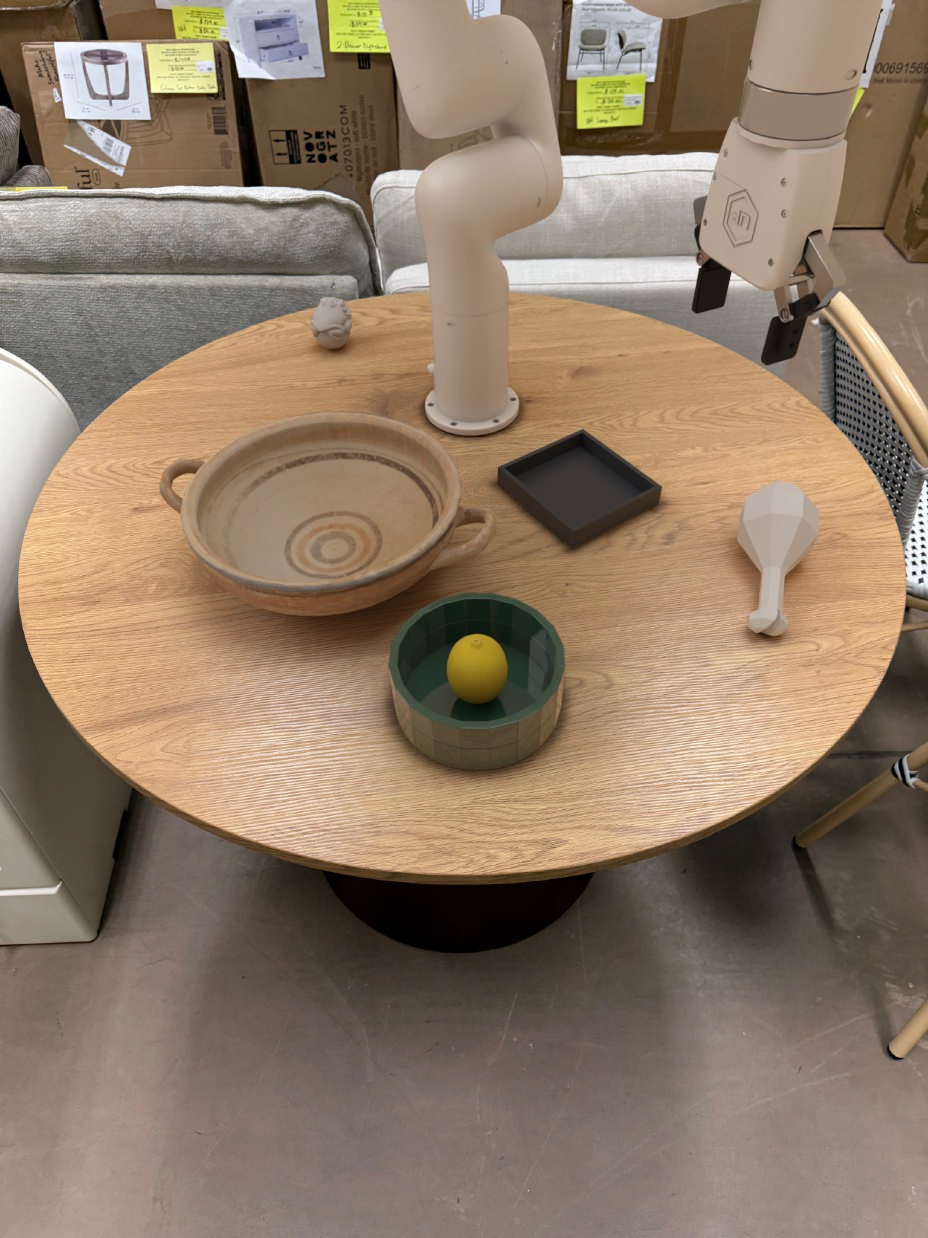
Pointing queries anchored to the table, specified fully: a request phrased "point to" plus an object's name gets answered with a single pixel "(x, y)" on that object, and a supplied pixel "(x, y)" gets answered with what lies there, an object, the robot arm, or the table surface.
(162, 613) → the table surface
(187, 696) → the table surface
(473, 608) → the pot
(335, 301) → the frog figurine
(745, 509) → the chicken leg
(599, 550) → the table surface
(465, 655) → the lemon
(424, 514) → the ceramic bowl
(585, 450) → the tray
